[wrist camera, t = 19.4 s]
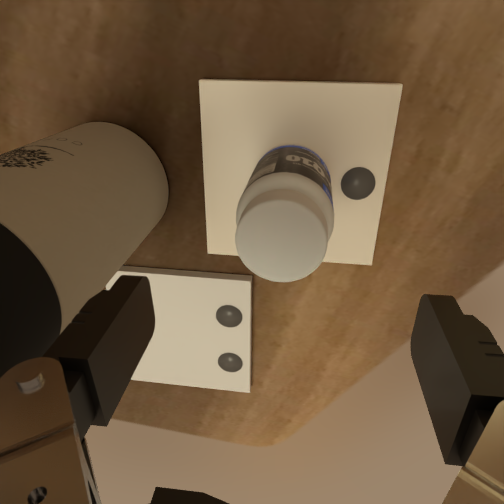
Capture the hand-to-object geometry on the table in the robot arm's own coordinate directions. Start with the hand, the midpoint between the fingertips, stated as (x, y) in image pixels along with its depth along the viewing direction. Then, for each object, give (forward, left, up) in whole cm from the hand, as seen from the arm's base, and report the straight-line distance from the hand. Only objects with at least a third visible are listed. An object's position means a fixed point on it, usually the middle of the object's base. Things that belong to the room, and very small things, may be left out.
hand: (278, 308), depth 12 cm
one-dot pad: (+1, 0, -15) cm, 15 cm away
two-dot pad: (+14, -8, -15) cm, 22 cm away
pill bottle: (+1, 0, -14) cm, 14 cm away
